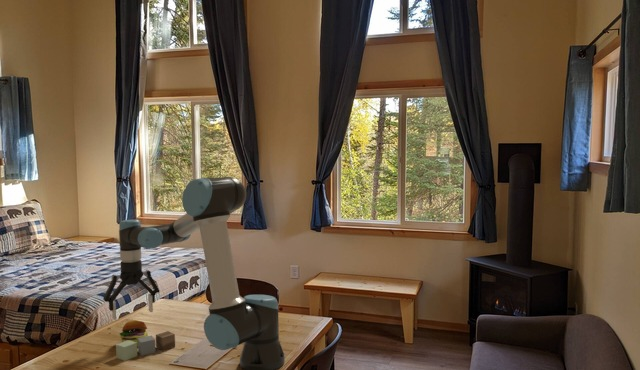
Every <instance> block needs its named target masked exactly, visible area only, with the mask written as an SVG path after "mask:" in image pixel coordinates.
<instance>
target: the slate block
mask: <svg viewBox="0 0 640 370" xmlns="http://www.w3.org/2000/svg"><path fill="white" fill-rule="evenodd" d="M137 353H139V355H140V356H147V355H151V354H155V353H156V338H154V337H153V335H148V336H146V337H142V338H138V347H137Z"/></svg>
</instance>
